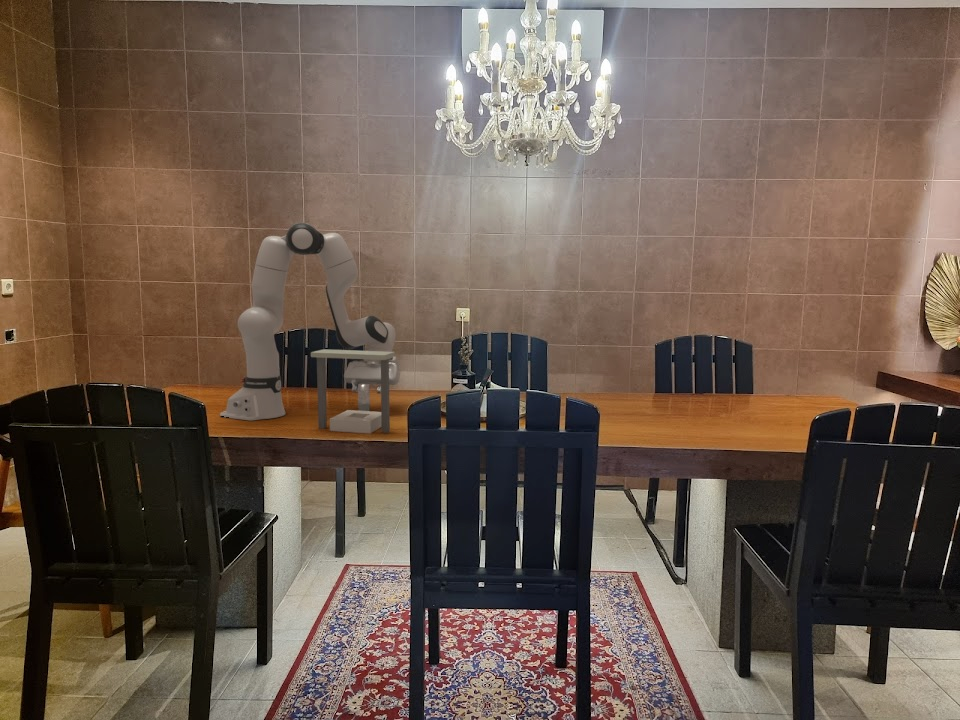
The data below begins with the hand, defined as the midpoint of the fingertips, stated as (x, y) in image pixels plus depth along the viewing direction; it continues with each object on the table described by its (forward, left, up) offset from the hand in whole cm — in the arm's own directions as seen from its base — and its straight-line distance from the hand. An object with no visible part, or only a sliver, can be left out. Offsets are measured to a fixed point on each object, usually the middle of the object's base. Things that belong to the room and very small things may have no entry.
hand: (366, 392), depth 229 cm
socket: (+4, -16, -9) cm, 19 cm away
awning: (+4, -20, -9) cm, 22 cm away
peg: (0, -2, -9) cm, 9 cm away
